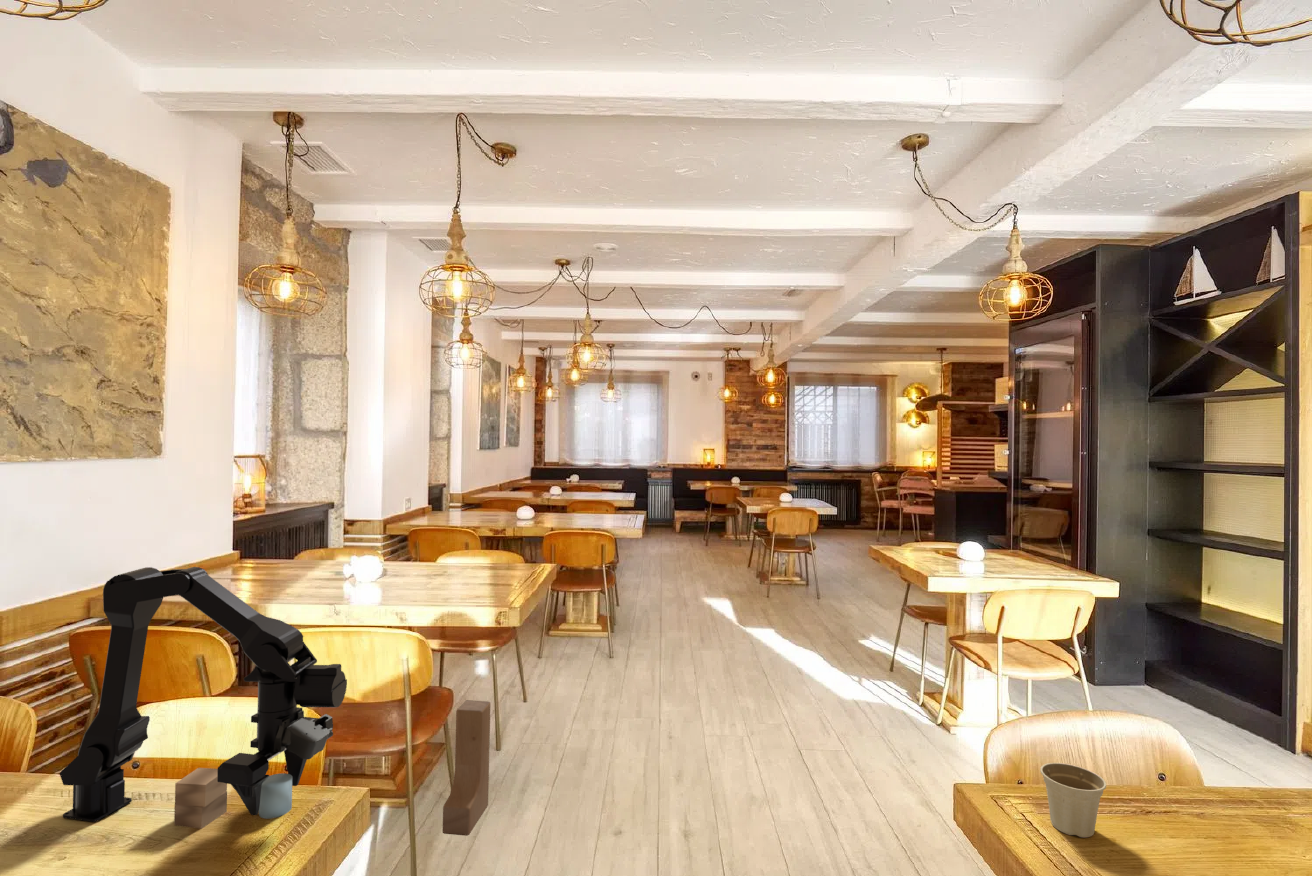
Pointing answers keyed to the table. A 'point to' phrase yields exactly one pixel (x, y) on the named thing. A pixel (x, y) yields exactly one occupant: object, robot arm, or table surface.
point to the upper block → (199, 788)
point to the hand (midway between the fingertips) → (275, 799)
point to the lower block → (200, 813)
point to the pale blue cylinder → (276, 796)
